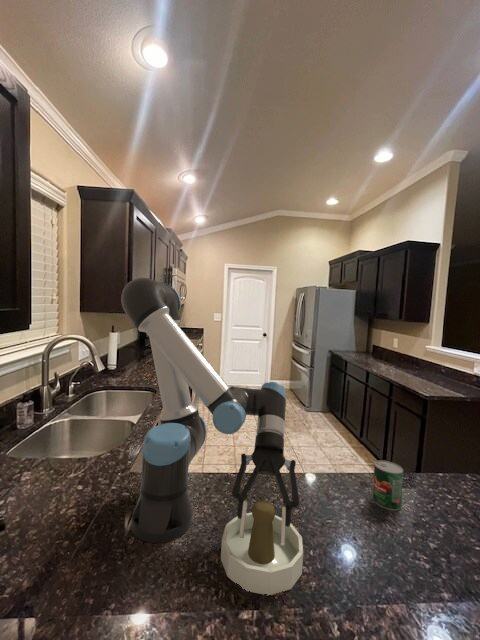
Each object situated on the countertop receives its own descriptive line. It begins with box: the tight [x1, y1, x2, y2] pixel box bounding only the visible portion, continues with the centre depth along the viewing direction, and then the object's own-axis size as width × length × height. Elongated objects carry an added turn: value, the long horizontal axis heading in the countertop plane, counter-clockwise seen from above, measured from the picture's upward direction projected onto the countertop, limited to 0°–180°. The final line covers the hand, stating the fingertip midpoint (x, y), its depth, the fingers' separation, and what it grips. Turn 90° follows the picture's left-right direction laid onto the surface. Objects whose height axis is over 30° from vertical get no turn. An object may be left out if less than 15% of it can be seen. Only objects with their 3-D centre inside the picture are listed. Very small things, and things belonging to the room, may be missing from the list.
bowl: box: [220, 511, 304, 596], centre depth 66 cm, size 18×18×4 cm
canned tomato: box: [372, 459, 404, 512], centre depth 91 cm, size 8×8×11 cm
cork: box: [248, 499, 276, 564], centre depth 66 cm, size 6×6×11 cm
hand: (261, 540), depth 63 cm, fingers open, 8 cm apart
